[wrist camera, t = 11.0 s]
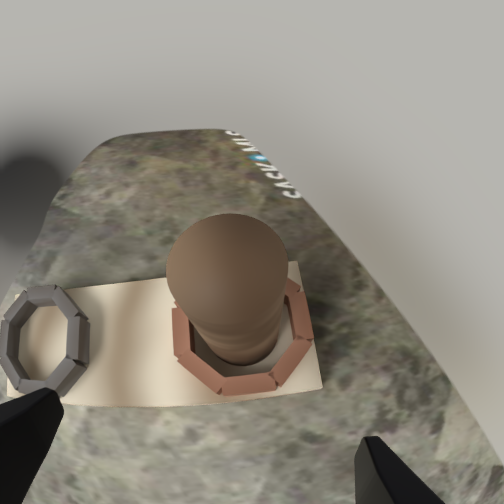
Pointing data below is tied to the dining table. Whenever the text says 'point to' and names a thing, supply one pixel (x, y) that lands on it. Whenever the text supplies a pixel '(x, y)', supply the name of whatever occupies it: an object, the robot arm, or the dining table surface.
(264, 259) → the walnut peg
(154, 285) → the socket rail
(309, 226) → the dining table surface
